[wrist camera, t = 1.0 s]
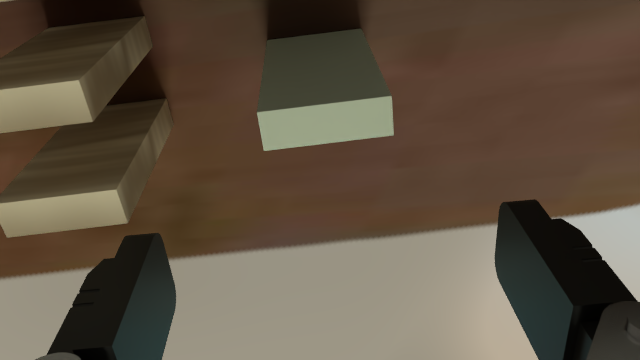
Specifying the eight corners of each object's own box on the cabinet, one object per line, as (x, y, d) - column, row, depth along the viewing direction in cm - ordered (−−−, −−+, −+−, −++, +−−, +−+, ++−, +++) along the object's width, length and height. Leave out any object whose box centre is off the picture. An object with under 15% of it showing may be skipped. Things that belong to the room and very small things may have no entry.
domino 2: (77, 109, 30) (-9, 204, 22) (166, 98, 30) (116, 189, 22) (86, 135, 31) (7, 237, 22) (173, 124, 31) (127, 222, 22)
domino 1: (48, 27, 28) (-61, 97, 19) (144, 15, 28) (78, 80, 19) (59, 58, 29) (-41, 138, 20) (153, 46, 29) (93, 121, 20)
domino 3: (267, 40, 29) (257, 112, 20) (361, 28, 29) (391, 95, 20) (271, 69, 30) (263, 150, 21) (363, 57, 30) (393, 135, 21)
